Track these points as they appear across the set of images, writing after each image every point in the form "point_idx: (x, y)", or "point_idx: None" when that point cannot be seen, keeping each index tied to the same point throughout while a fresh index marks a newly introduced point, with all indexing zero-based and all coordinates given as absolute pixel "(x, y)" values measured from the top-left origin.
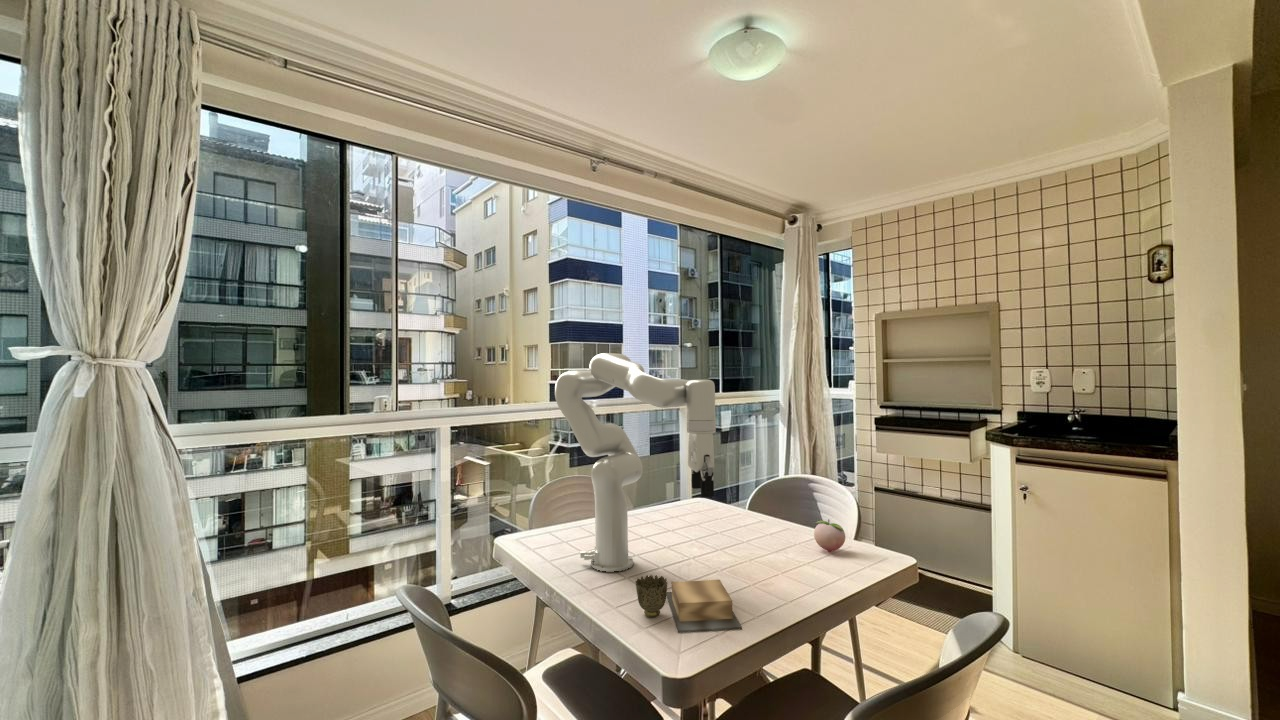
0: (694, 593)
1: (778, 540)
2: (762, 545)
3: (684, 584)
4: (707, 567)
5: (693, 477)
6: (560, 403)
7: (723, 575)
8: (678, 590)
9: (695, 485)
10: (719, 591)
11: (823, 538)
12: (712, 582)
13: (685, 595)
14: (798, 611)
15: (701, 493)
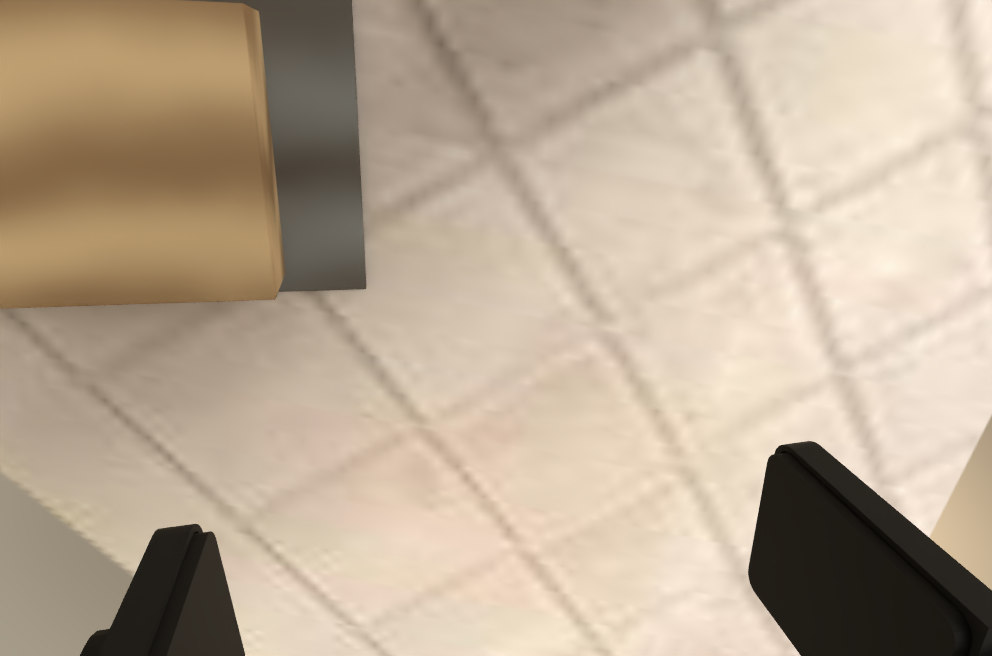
0: (56, 118)
1: None
2: None
3: (201, 82)
4: (652, 281)
5: (901, 589)
6: None
7: (544, 334)
8: (96, 22)
9: (791, 511)
10: (100, 267)
11: None
12: (232, 254)
13: (17, 53)
14: (151, 537)
15: (142, 562)
